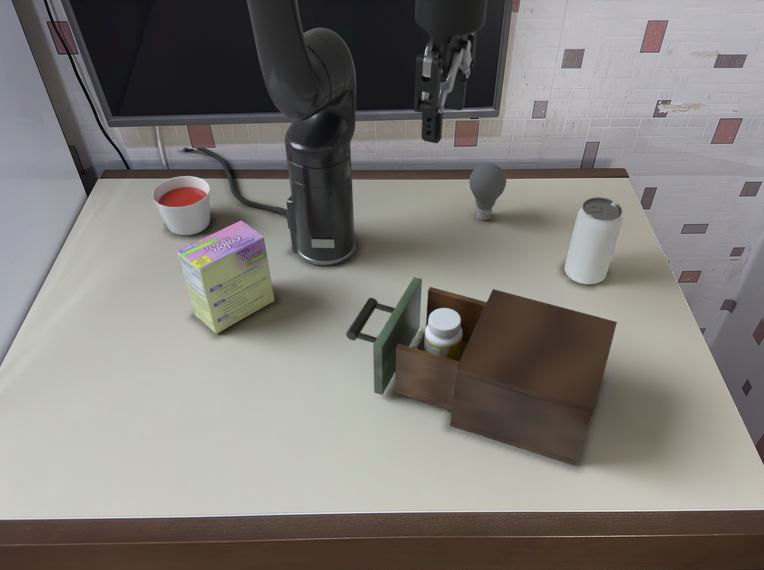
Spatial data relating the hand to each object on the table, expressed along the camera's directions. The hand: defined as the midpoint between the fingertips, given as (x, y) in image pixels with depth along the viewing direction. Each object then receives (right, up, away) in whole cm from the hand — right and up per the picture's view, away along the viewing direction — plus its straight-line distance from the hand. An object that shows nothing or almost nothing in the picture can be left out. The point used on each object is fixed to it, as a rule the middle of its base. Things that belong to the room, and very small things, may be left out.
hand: (443, 124), depth 80 cm
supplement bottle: (0, -29, +8) cm, 30 cm away
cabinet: (+11, -34, +7) cm, 36 cm away
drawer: (-2, -29, +10) cm, 31 cm away
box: (-29, -21, +18) cm, 41 cm away
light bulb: (+9, -4, +35) cm, 36 cm away
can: (+24, -15, +25) cm, 38 cm away
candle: (-41, -6, +33) cm, 52 cm away
